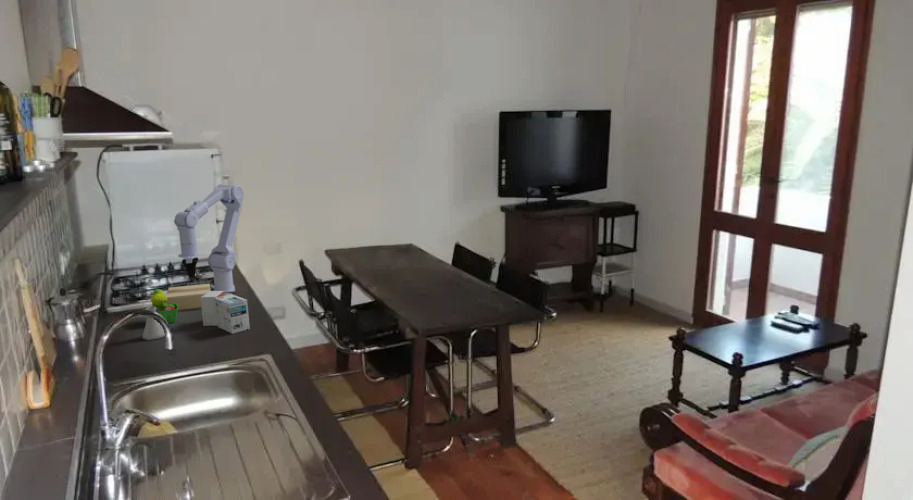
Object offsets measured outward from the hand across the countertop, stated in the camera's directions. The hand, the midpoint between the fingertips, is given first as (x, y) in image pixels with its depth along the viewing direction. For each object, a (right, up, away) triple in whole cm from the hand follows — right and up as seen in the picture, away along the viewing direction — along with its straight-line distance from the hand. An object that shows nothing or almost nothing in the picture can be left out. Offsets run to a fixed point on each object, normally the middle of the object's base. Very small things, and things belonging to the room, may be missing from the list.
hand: (192, 277), depth 249 cm
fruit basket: (-2, -15, -20) cm, 25 cm away
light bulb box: (+26, -17, -28) cm, 42 cm away
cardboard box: (0, -10, -1) cm, 10 cm away
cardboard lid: (0, -6, -2) cm, 6 cm away
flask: (+2, -18, -35) cm, 40 cm away
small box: (+17, -15, -22) cm, 32 cm away
